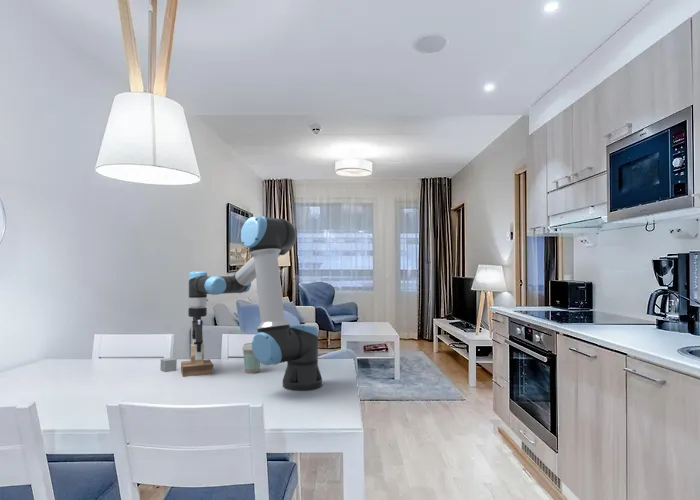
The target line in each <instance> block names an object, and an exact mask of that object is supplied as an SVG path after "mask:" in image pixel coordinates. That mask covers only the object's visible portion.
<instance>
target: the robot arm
mask: <svg viewBox="0 0 700 500" xmlns="http://www.w3.org/2000/svg"><path fill="white" fill-rule="evenodd" d="M240 239H241V243H242V244H243V246H245V248H246V247H247V249H248V251H249V256H251V258H250V259H248V261H246V262H245V263H244V264H243V265H242V266H241V267H240V269H238V270H237V271H236V272H235V273H234V274H233V275H225V276H224V275H223V276H222V275H221V276H220V275H219V276H216V275H215V276H214V275H213V276H208V272H207V271H190V273H189V277H188V300H187V301H188V303H187V304H188V310H187V311H188V313H187V314H188V317H190V318H192V320H191V321H192V322H191V324H192V333H191V337H192V343H191V344H195V360H202V343H203V344H204V341H203V324H204V321H203V319H202V317H203V318H204V317H206V316H207V314H208V312H207V311H208V309H207V305H208V304H207V302H209V299H208V295H212V296H216V295H217V296H218V295H222V294H223V295H224V294H227V295H228V294H243V293H247V292H249V291H250V289H251V286H252V282H253V281H254V280H255V279H256V287H257V297H258V308H259V315H260V317H259V318H260V323H259V325H258V326H257V328H256V329H257V333H256V334H255V335H254V336H253V338H252V339H253V340H251V343H252V350H253V353H254V355H255V357H256V359H257V360H258V361H259V362H260V364H261V365H264V366H271V365H273V366H274V365H275V366H277V365H278V364H282V363H286V362H287V363H286V368H285V370H284V371H285V372H284V375H283V378H282V387H283V388H284V389H286V390H292V391H309V390H310V391H311V390H316V389H318V388H321V387H322V386H323V377H322V374H321V371H320V367H319V364H318V363H319V362H318V361H319V334H318V333H319V331H318V328H317V327H316V326H313V325H306V324H296V323H295V324H293V323H289V321H286V320H285V311H284V301H283V295H282V285H281V274H280V265H279V257H280V256H285V255H286V254H287V253H288V252H289V251H290V250H291V249H292V248H293V247H294V245H295V243H296V240H297V231H296V227H295V226H294V225H293V223H292V222H290V221H289V220H287V219H284V218H275V217H268V216H263V215H261V216H257V215H254V216H251V217H249V218H248V219H247V220H246V221H245V222H244V224H243V225H242V227H241V231H240Z"/></svg>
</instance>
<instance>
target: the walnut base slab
mask: <svg viewBox="0 0 700 500" xmlns="http://www.w3.org/2000/svg"><path fill="white" fill-rule="evenodd" d="M180 372H181V375H182V377H183V378H185V377H195V376H196V377H197V376H206V375H213V374H214V364H213V362H212V361H211V359H204V364H194V365H191V363H190V360H185V361H180Z"/></svg>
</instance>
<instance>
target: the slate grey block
mask: <svg viewBox="0 0 700 500" xmlns="http://www.w3.org/2000/svg"><path fill="white" fill-rule="evenodd" d="M177 362H178V361H177V358H174V357H167V358H160V371H161V372H163V373H169V372H175V371H177V364H178V363H177Z"/></svg>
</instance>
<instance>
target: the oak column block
mask: <svg viewBox="0 0 700 500" xmlns="http://www.w3.org/2000/svg"><path fill="white" fill-rule="evenodd" d="M204 353H205V345H204V342H203V343H202V360H195V344H192V343H190V359H189V361H190V363H191V365H194V364H204V360H205V359H204V358H205V357H204V356H205V354H204Z"/></svg>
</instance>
